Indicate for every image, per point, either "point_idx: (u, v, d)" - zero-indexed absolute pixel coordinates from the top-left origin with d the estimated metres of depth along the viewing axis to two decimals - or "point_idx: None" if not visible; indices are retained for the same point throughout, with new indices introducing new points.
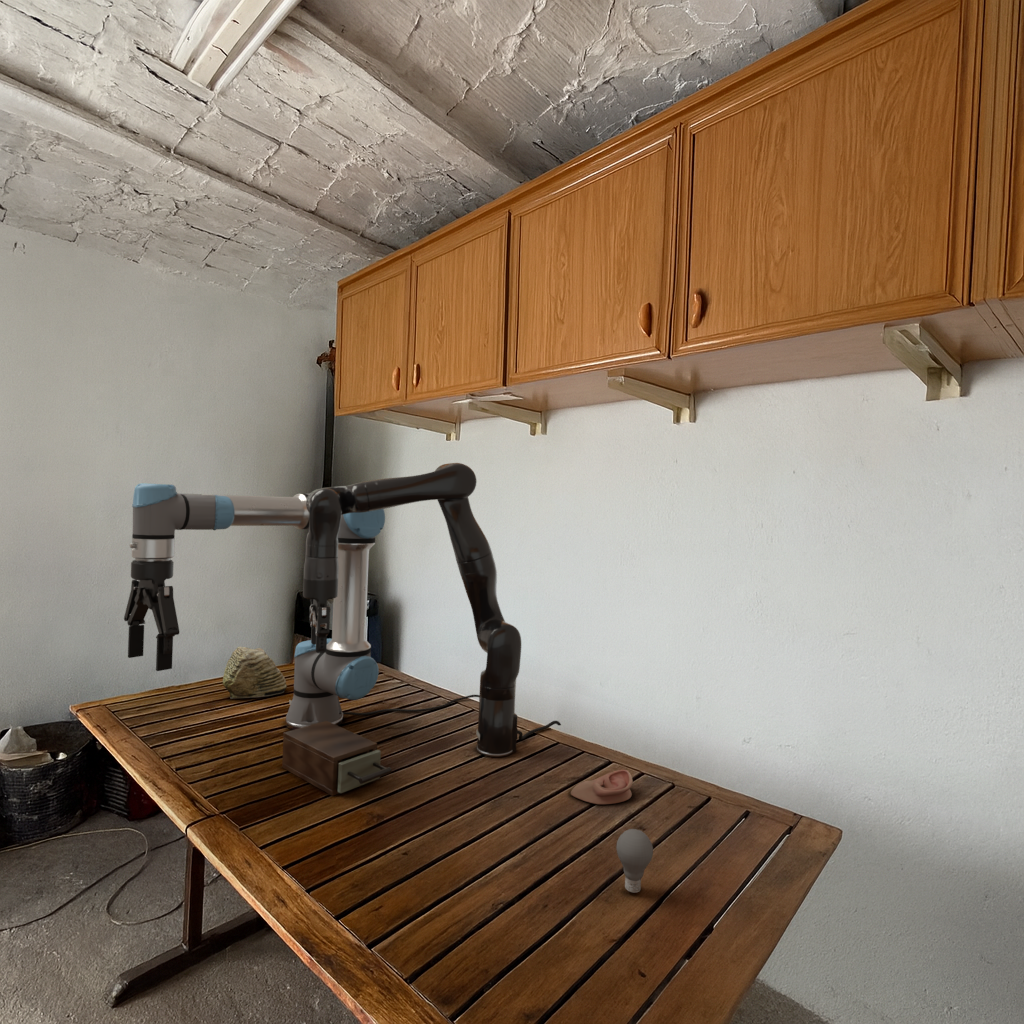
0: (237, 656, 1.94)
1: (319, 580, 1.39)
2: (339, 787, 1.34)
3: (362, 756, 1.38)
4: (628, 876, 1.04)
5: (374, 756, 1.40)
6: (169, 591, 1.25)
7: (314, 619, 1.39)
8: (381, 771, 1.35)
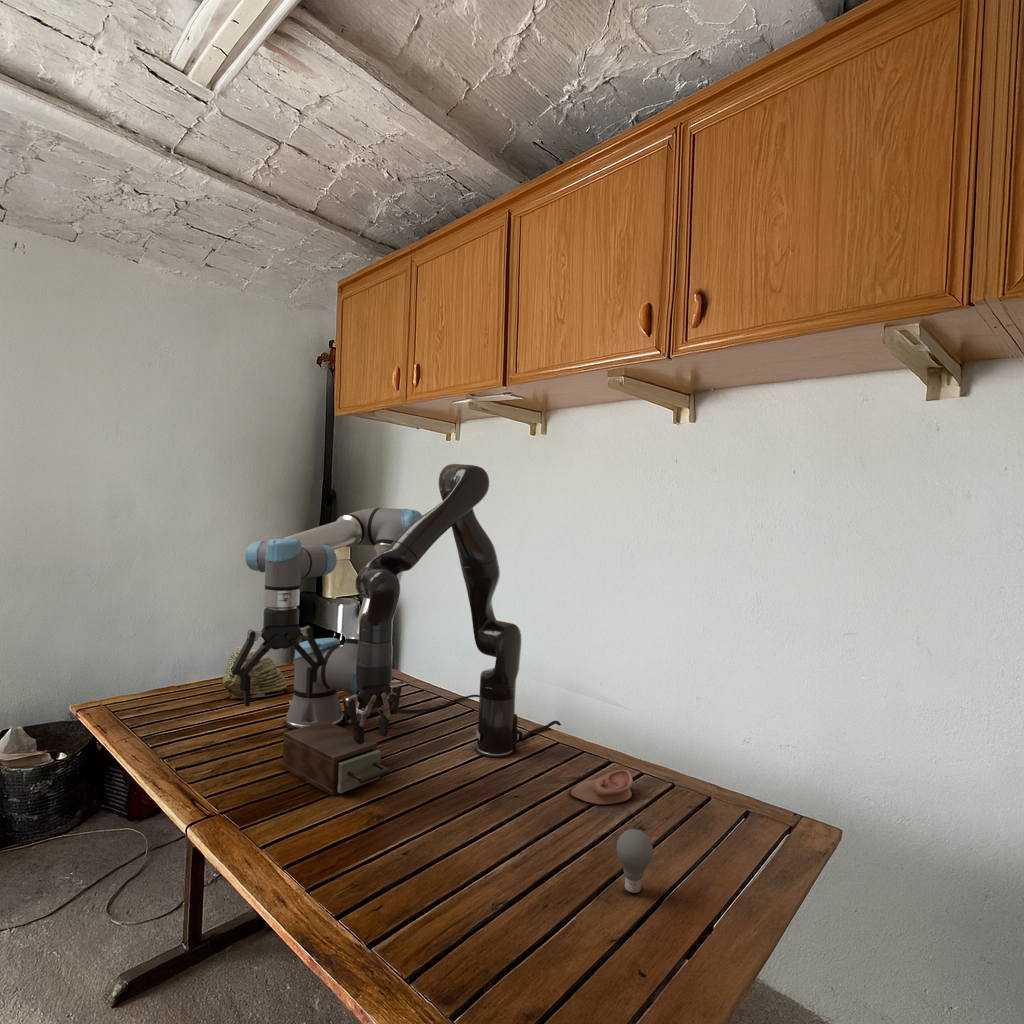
0: (237, 656, 1.94)
1: (358, 664, 1.33)
2: (339, 787, 1.34)
3: (362, 756, 1.38)
4: (628, 876, 1.04)
5: (374, 756, 1.40)
6: None
7: (357, 706, 1.34)
8: (381, 771, 1.35)
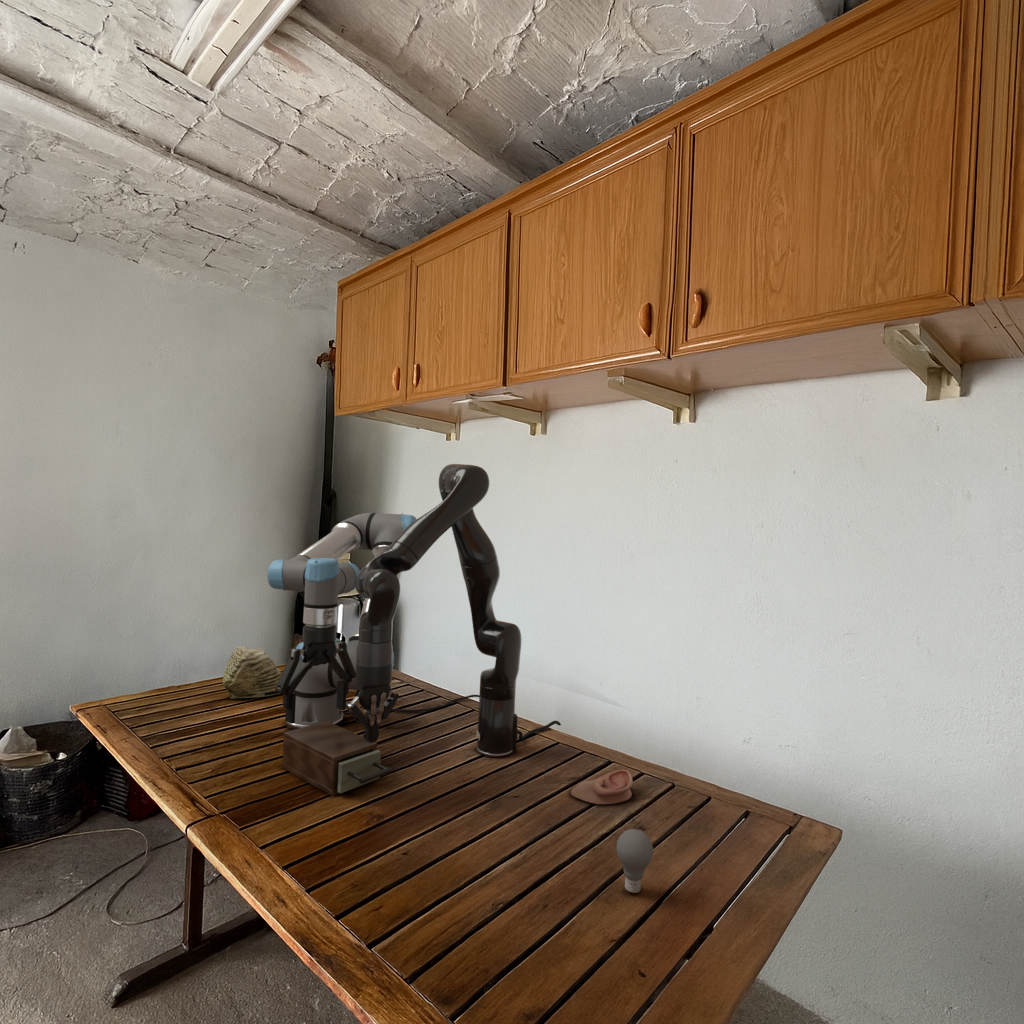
0: (237, 656, 1.94)
1: (358, 664, 1.33)
2: (339, 787, 1.34)
3: (362, 756, 1.38)
4: (628, 876, 1.04)
5: (374, 756, 1.40)
6: None
7: (362, 706, 1.35)
8: (381, 771, 1.35)
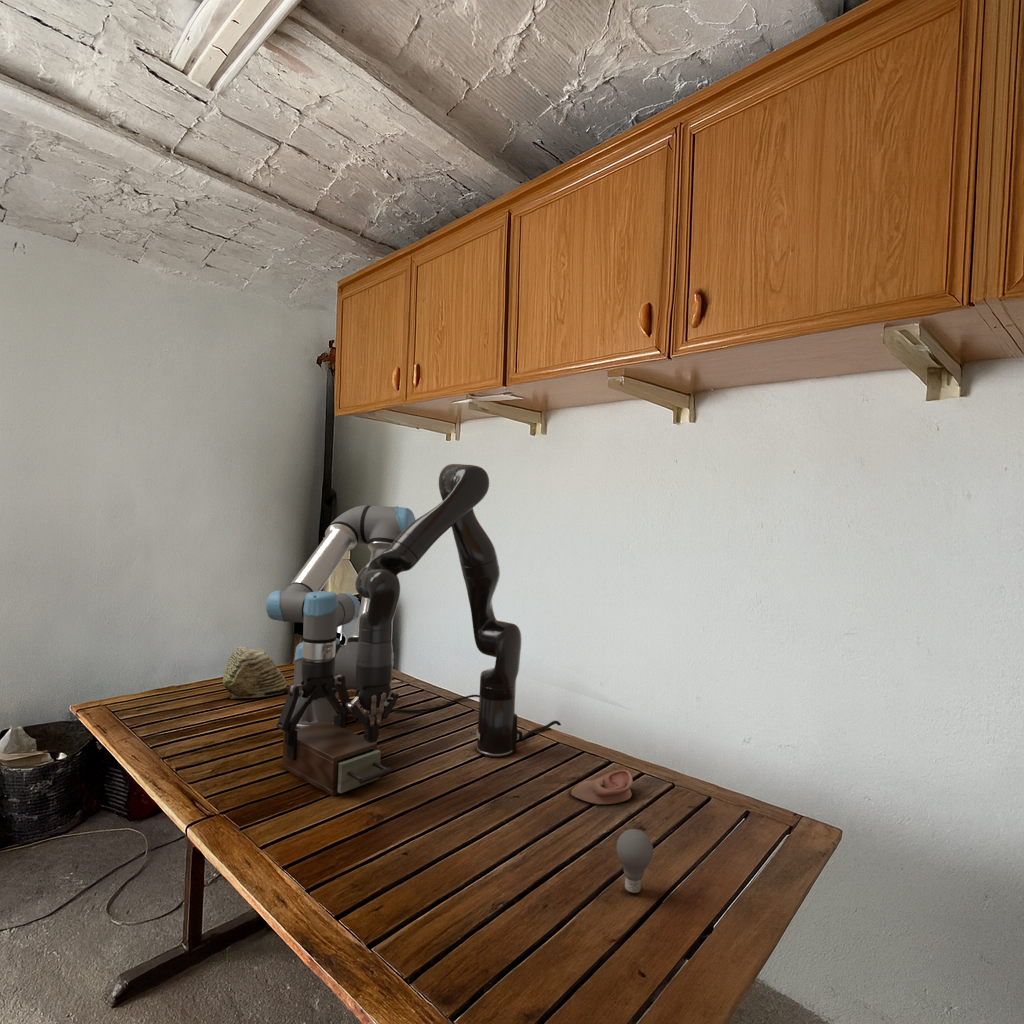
0: (237, 656, 1.94)
1: (358, 664, 1.33)
2: (339, 787, 1.34)
3: (362, 756, 1.38)
4: (628, 876, 1.04)
5: (374, 756, 1.40)
6: None
7: (362, 706, 1.35)
8: (381, 771, 1.35)
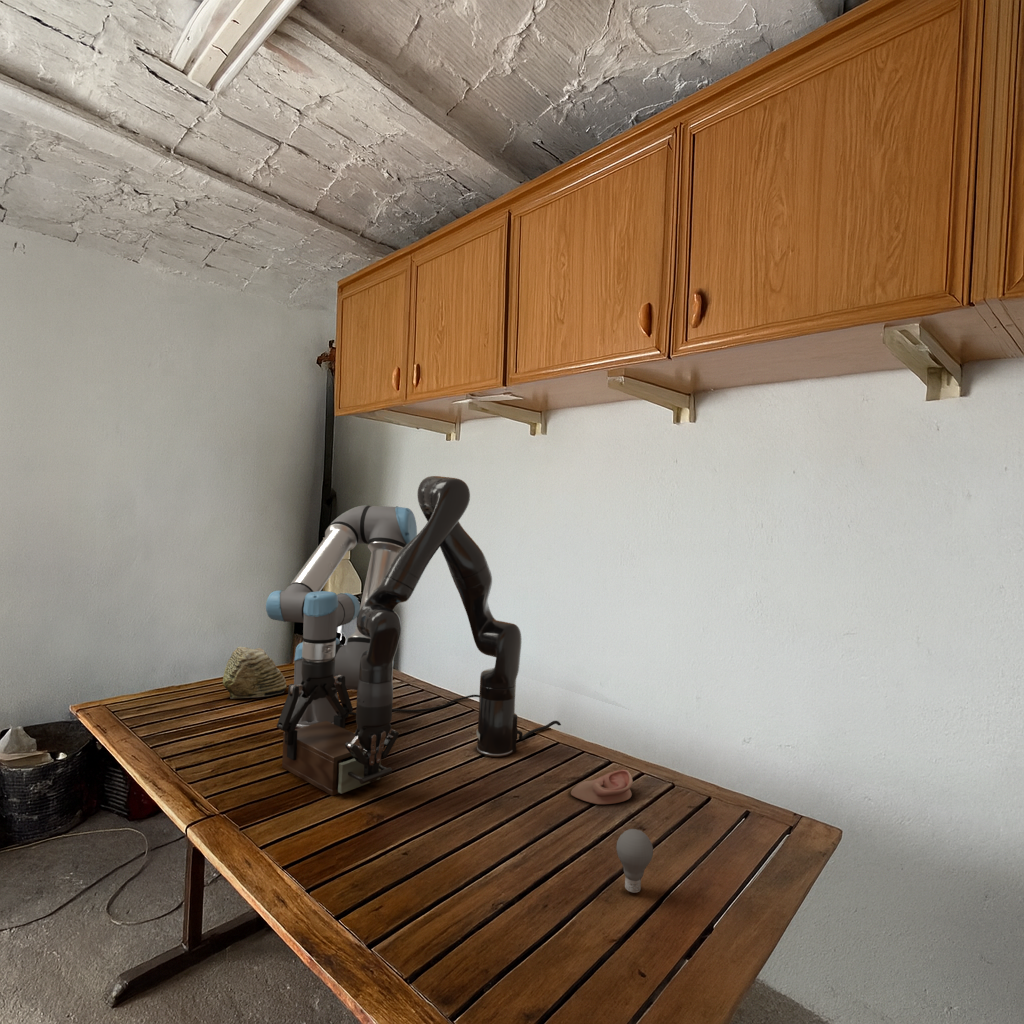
0: (237, 656, 1.94)
1: (358, 704, 1.33)
2: (340, 787, 1.34)
3: None
4: (628, 876, 1.04)
5: None
6: None
7: (362, 745, 1.35)
8: (381, 771, 1.35)
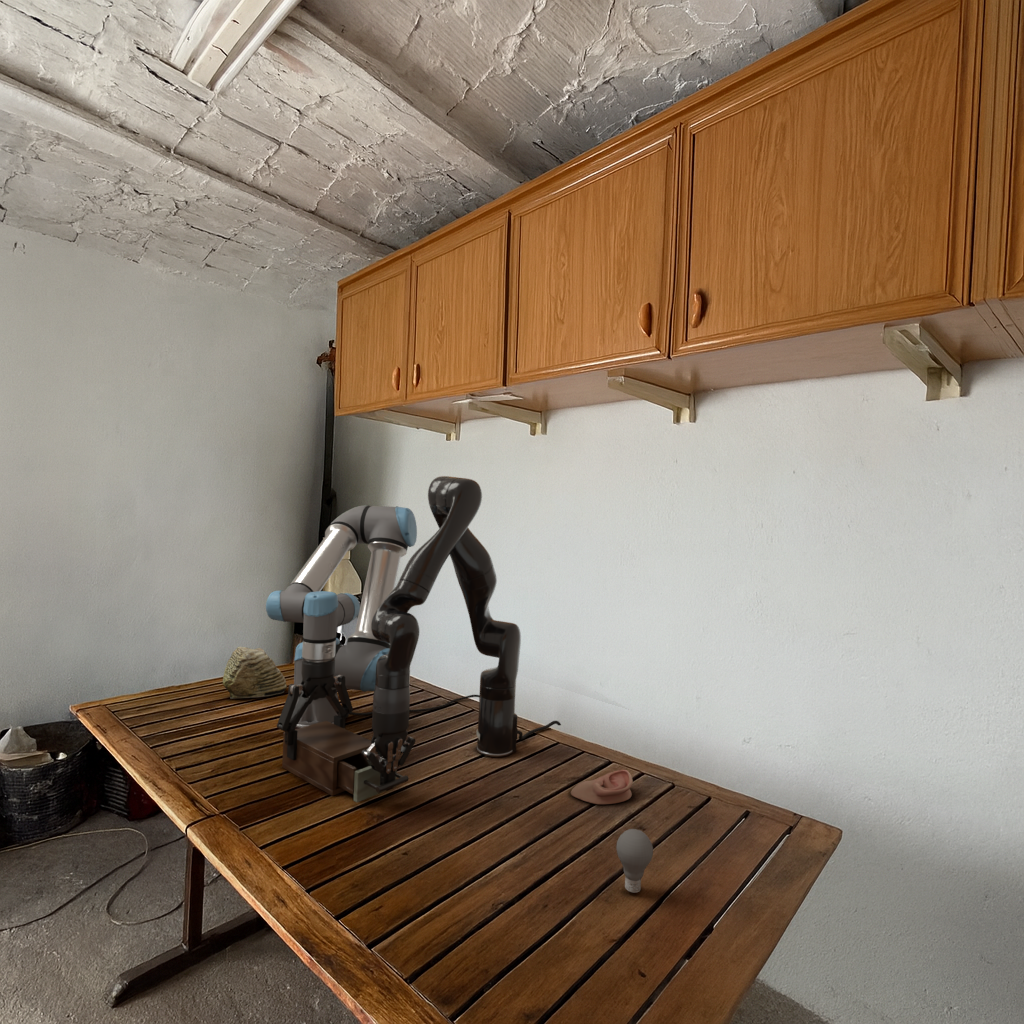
0: (237, 656, 1.94)
1: (374, 710, 1.29)
2: (355, 796, 1.30)
3: None
4: (628, 876, 1.04)
5: None
6: None
7: (378, 753, 1.31)
8: (398, 779, 1.31)
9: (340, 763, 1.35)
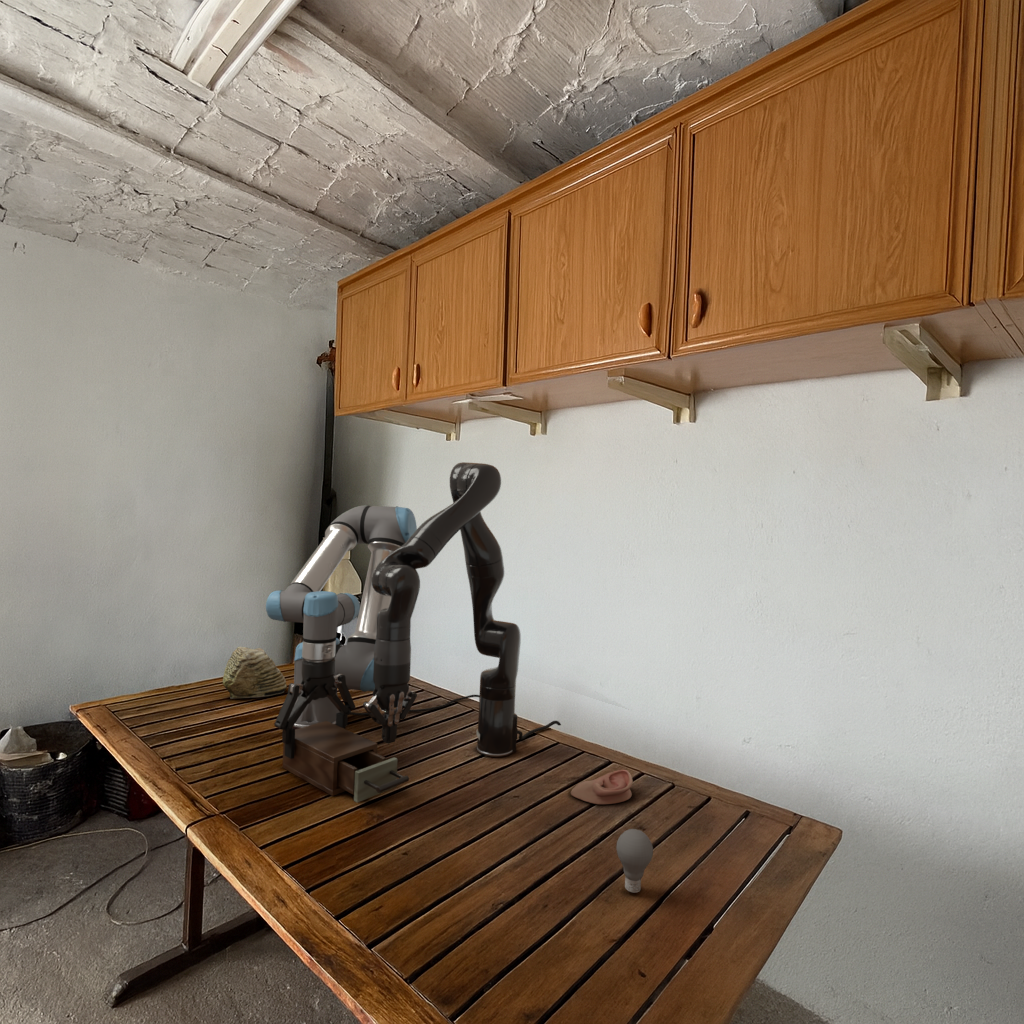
0: (237, 656, 1.94)
1: (375, 663, 1.29)
2: (355, 796, 1.30)
3: (379, 764, 1.34)
4: (628, 876, 1.04)
5: (391, 764, 1.36)
6: None
7: (379, 706, 1.31)
8: (398, 779, 1.31)
9: (340, 763, 1.35)
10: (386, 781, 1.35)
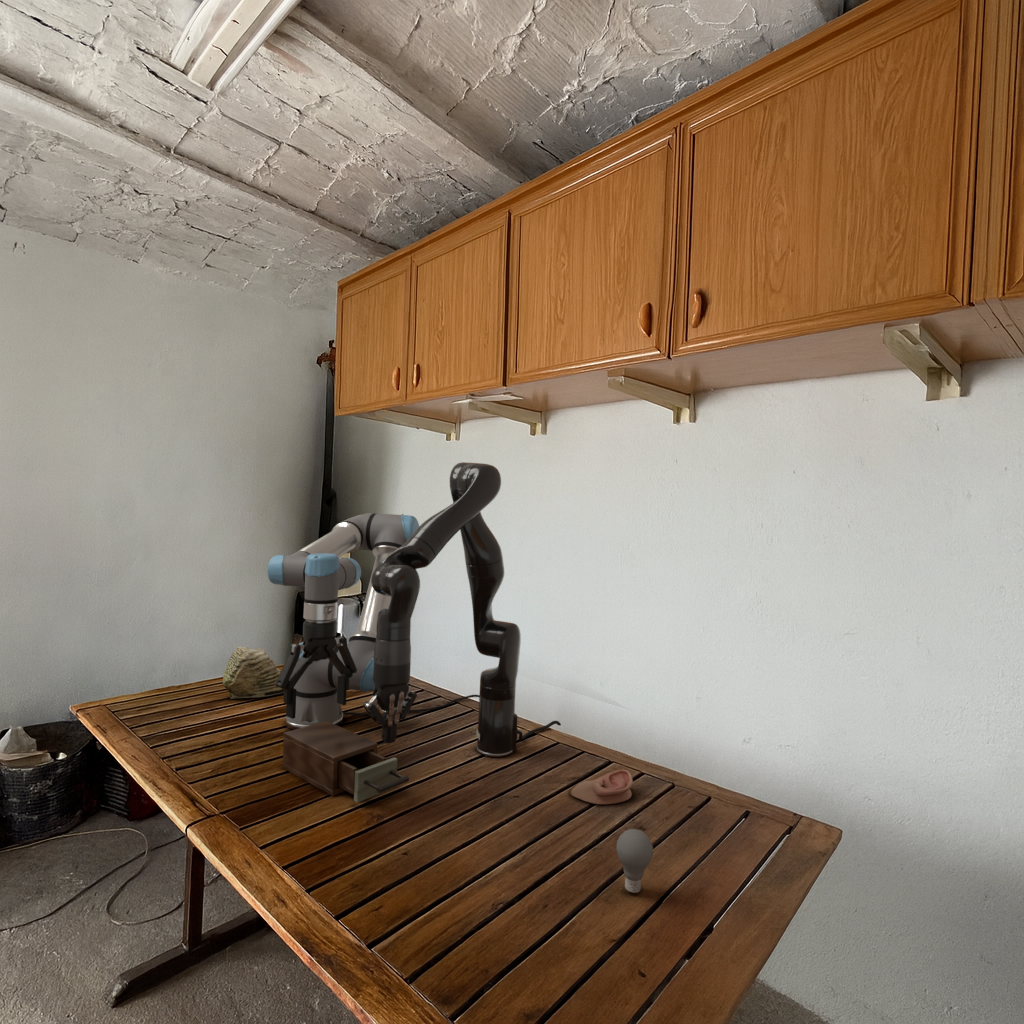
0: (237, 656, 1.94)
1: (375, 663, 1.29)
2: (355, 796, 1.30)
3: (379, 764, 1.34)
4: (628, 876, 1.04)
5: (391, 764, 1.36)
6: None
7: (379, 706, 1.31)
8: (398, 779, 1.31)
9: (340, 763, 1.35)
10: (386, 781, 1.35)
